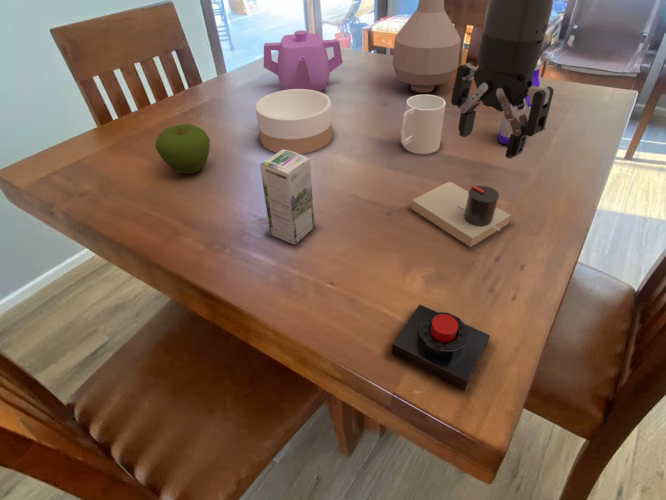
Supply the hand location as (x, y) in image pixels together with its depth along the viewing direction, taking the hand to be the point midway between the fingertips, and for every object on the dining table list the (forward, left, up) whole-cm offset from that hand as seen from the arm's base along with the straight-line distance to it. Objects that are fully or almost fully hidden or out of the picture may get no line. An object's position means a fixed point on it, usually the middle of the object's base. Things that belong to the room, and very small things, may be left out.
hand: (487, 145), depth 65 cm
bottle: (+15, -32, -16) cm, 39 cm away
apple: (+50, +31, -16) cm, 61 cm away
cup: (+26, -13, -16) cm, 34 cm away
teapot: (+73, -14, -16) cm, 76 cm away
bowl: (+48, +5, -16) cm, 51 cm away
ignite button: (-15, +23, -12) cm, 30 cm away
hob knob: (-1, -1, -14) cm, 14 cm away
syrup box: (+18, +25, -16) cm, 35 cm away
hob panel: (+3, -1, -16) cm, 16 cm away
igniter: (-15, +23, -16) cm, 32 cm away
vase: (+50, -39, -16) cm, 66 cm away
